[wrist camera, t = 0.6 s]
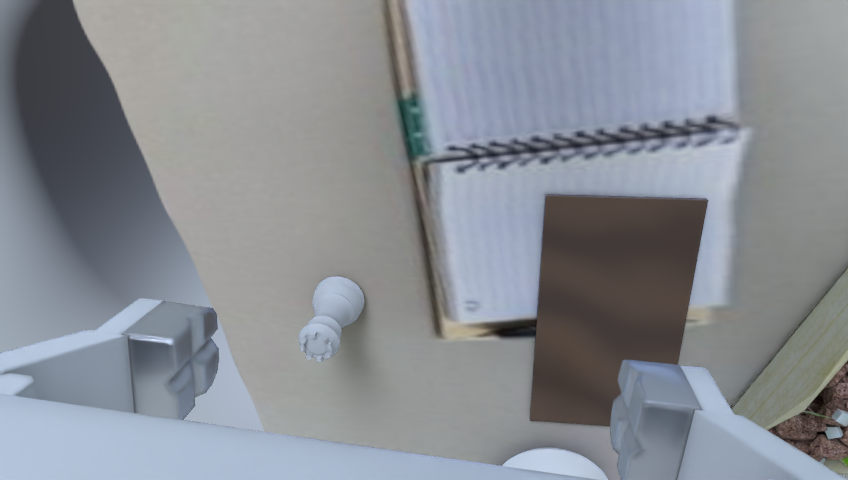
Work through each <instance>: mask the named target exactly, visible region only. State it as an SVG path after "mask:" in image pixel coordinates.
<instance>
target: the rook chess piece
mask: <svg viewBox="0 0 848 480" xmlns="http://www.w3.org/2000/svg"><path fill="white" fill-rule="evenodd" d="M364 303H365V300H364V296H363V292H362V291H361V289H360V288H359V287H358V285H357V284H355V283H354V282H352V281H351V280H349V279H347V278H343V277H339V276H337V277H329V278H327V279H325V280H323V281H321V282H320V284H319V285H318V286H317V288H316V290H315V293H314V295H313V301H312V305H313V309H314V313H315V315H314V318H312V319H311V320H310V321H309V323H308V325H307V326H305V327H304V328H303V329H302V330H301V332H300V333H299V343H300V350H301V352H304V351H305V353H306V356H305V358H307V359H309V360H311V358H312V357H313V358H317V359H316V362H323V360H324V359H326V358H327V359H328V358H330V357H332V356H334V355H335V354H336V353H337V351H338V350H339V346H340V342H339V339H340V338H341V333H342V332H341V330H342V328H343V327H344V326H347V325H349V324H351V323H353V322H354V321H355V320H356V319H357V318H358V317H359V315H360V313H361V311H362V310H363V307H364Z"/></svg>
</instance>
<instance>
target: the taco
mask: <svg viewBox="0 0 848 480" xmlns="http://www.w3.org/2000/svg"><path fill="white" fill-rule="evenodd" d="M732 411H733V413H734V414H735V415H740V416H744V417H746V418H747V419H749V420H751V421H752V422H754V423H756V424H757V425H759V426H761V427H762V428H764V429H766V430H767V431H769V432H771V433H772V434H774V435H775V436H777V437H779V438H780V439H782V440H784V441H785V442H787V443H789V444H790V445H792V446H794V447H795V448H797V449H799V450H800V451H802V452H803V453H805V454H807V455H808V456H810V457H812V458H813V459H815V460H817V461H818V462H820V463H822V464H823V465H825V466H827V467H828V468H830V469H831V470H833V471H835V472H836V473H838V474H848V268H847V269H846V271H845V272H844V273H843V274H842V276H841V277H840V278H839V279H838V280H837V282H836V283H835V284H834V285H833V287H832V288H831V289H830V290H829V291H828V293H827V294H826V295H825V296H824V297H823V299H822V300H821V301H820V302H819V304H818V305H817V306H816V307H815V308H814V310H813V311H812V312H811V313H810V314H809V316H808V317H807V318H806V319H805V321H804V322H803V323H802V324H801V325H800V327H799V328H798V329H797V330H796V332H795V333H794V334H793V335H792V336H791V338H790V339H789V340H788V341H787V342H786V344H785V345H784V346H783V347H782V349H781V350H780V351H779V352H778V353H777V355H776V356H775V357H774V358H773V360H772V361H771V362H770V363H769V364H768V366H767V367H766V368H765V369H764V370H763V372H762V373H761V374H760V375H759V377H758V378H757V379H756V380H755V381H754V383H753V384H752V385H751V386H750V387H749V389H748V390H747V391H746V392H745V394H744V395H743V396H742V397H741V398H740V400H739V401H738V402H737V403H736V405H735V406H734V407H733V408H732Z"/></svg>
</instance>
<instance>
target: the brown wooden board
mask: <svg viewBox="0 0 848 480" xmlns="http://www.w3.org/2000/svg"><path fill="white" fill-rule="evenodd" d="M707 203H708V200H707V199H699V198H662V197H625V196H587V195H550V194H546V195H545V209H544V223H543V237H542V252H541V266H540V281H539V295H538V309H537V324H536V338H535V353H534V367H533V381H532V396H531V410H530V420H531V421H545V422H560V423H575V424H589V425H604V426H610V422H611V412H612V406H613V400H614V399H616V398H617V397H618V396H619V395H620V394H621V390H620V387H619V383H618V376H619V371H620V367H621V365H622V362H623V360H636V361H646V362H655V363H665V364H675V365H678V359H679V354H680V348H681V343H682V338H683V332H684V327H685V321H686V316H687V311H688V305H689V300H690V294H691V289H692V284H693V278H694V273H695V267H696V262H697V257H698V251H699V246H700V240H701V235H702V230H703V224H704V219H705V213H706V208H707Z"/></svg>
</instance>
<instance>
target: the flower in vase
mask: <svg viewBox="0 0 848 480" xmlns="http://www.w3.org/2000/svg"><path fill="white" fill-rule="evenodd" d="M502 466H506V467H513V468H520V469H527V470H534V471H541V472H548V473H555V474H562V475H569V476H576V477H583V478H590V479H597V480H608V478H607V477H606V475H605V474H604V472H603V471H602V470H601V469H600V468H599V467H598V466H597V465H595V464H594V463H593V462H592V461H590V460H589V459H587V458H586V457H584V456H582V455H580V454H578V453H576V452H573V451H570V450H566V449H561V448H551V447H545V448H536V449H531V450H527V451H524V452H521V453H519V454H517V455H515V456H513V457H512V458H510V459H509V460H507V461H506V462H505V463H504V464H503V465H502Z"/></svg>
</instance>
